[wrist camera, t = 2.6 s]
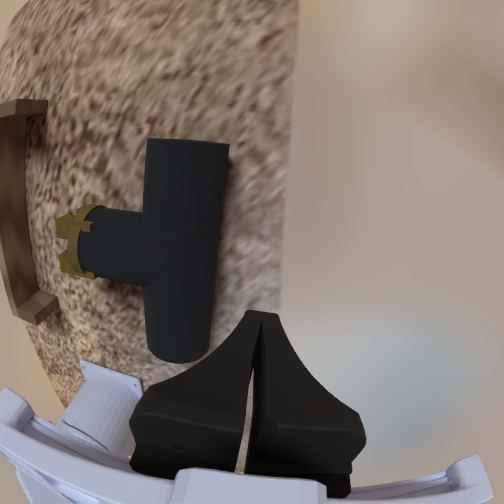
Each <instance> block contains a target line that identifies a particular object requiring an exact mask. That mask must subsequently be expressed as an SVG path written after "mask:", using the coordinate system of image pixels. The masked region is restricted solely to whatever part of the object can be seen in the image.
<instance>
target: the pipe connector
mask: <svg viewBox="0 0 504 504" xmlns="http://www.w3.org/2000/svg"><path fill="white" fill-rule="evenodd" d="M229 146H230V144H225V143H217V142H207V141H195V140H182V139H161V138H148V139H147V149H146V161H145V174H144V192H143V213H141V212H133V211H125V210H118V209H111V208H106V207H104V206H101V205H92V204H89V205H86V206H84V207H81V208H79V209H77V210H76V211H77V214H76V215H68V214H66V215H64V216H62V217H59V218H57V219H55V221H56V233H57V238H62V239H67V240H68V243H67V250H66V251H64V252H63V253H61V254H60V255H59V260H60V267H61V272H65V273H69V274H73V275H77V276H80V277H84V278H89V279H93V280H95V279H96V278H97V277H101V278H106V279H110V280H114V281H119V282H124V283H128V284H133V285H138V286H142V287H143V293H144V310H145V324H146V336H147V345H148V348H149V350H150V351H151V353H152V354H153V355H154V356H156V357H157V358H159V359H161V360H163V361H166V362H169V363H176V364H183V363H189V362H193V361H196V360H198V359H200V358H201V357H202V356H204V355H205V353H206V352H207V350H208V348H209V340H210V326H211V314H212V301H213V290H214V279H215V268H216V258H217V248H218V238H219V229H220V220H221V211H222V202H223V193H224V185H225V177H226V169H227V161H228V154H229Z"/></svg>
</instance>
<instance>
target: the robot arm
mask: <svg viewBox="0 0 504 504" xmlns="http://www.w3.org/2000/svg"><path fill="white" fill-rule="evenodd" d="M80 365H81V368H82V371H83V374H84V376H85V379H86V381H85V382H84V383H83V385H82V386H81V388H80V389H79V391H78V392H77V394H76V395H75V397H74V398H73V399H72V401H71V402H70V404H69V405H68V407H67V408H66V410H65V411H64V413H63V415H62V416H61V417H60V419H59V421H58V422H57V423H56V424H55V425H54V424H53V423H52V422H51V421H46V420H45V419H43V418H41V417H40V416H38V415H36V414H35V413H34V411H33V409H32V408H31V406H30V405H29V404H28V402H27V401H26V400H25V399H24V398H22V397H21V396H19V395H18V394H16V393H15V392H13V391H12V390H10V389H9V388H5V389H4V390H3V391H2V393H1V394H0V453H1V454H2V455H3V456H4V457H5V458H6V459H7V460H8V461H10V462H11V463H12V464H14V465H15V466H16V470H17V471H16V476H17V478H18V480H19V482H20V484H21V486H22V488H23V490H24V492H25V494H26V496H27V498H28V500H29V502H28V504H484V503H486V502H487V501H488V500H490V499H491V498H493V496H494V495H493V492H492V489H491V486H490V483H489V480H488V477H487V475H486V472H485V469H484V467H483V464H482V461H481V459H480V456H479V454H475V455H472V456H469V457H465V458H463V459H460V460H458V461H456V462H455V463H453V464H452V465H451V466H450V467H449V468H448V469H447V470H446V471H443V472H439V473H435V474H431V475H427V476H423V477H419V478H414V479H410V480H405V481H399V482H394V483H387V484H381V485H373V486H365V487H355V488H351V485H350V476H349V474H351V473H352V463H351V462H352V461H353V460H354V459H355V458H356V457H357V455H358V454H359V453H360V452H361V451H362V450H363V448H364V446H365V444H366V435H365V430H364V427H363V424H362V421H361V419H360V416H359V414H358V413H357V412H355V411H354V410H353V409H351V408H349V407H348V406H347V405H345V404H343V403H342V402H341V401H339V400H338V399H337V398H336V397H334V396H333V395H332V394H331V393H329V392H328V391H327V390H326V389H325V388H324V387H323V386H322V385H321V384H320V383H319V382H318V381H317V380H316V379H315V378H314V377H313V376H312V375H311V373H310V372H309V371H308V370H307V368H306V367H305V366H304V364H303V363H302V362H301V360H300V359H299V357H298V355H297V354H296V352H295V351H294V349H293V347H292V345H291V344H290V342H289V340H288V338H287V336H286V334H285V331H284V329H283V327H282V324H281V322H280V319H279V316H278V315H277V314H275V313H268V312H261V311H255V310H247V311H246V312H245V314H244V316H243V318H242V319H241V321H240V322H239V324H238V325H237V327H236V328H235V329H234V330H233V332H232V333H231V334H230V335H229V336H228V337H227V338H226V339H225V340H224V342H223V343H222V344H221V345H220V346H219V347H218V348H216V349H215V350H214V351H213V352H212V353H211V354H209V355H208V356H207V357H206V358H204V359H203V360H201V361H200V362H199V363H197V364H196V365H194V366H193V367H191V368H189V369H188V370H186V371H184V372H182V373H180V374H178V375H176V376H174V377H172V378H170V379H168V380H165V381H162V382H160V383H157V384H154V385H151V386H149V388H148V389H147V390H146V391H145V393H144V394H143V390H142V385H141V381H140V380H139V379H138V378H135V377H132V376H129V375H125V374H122V373H119V372H116V371H113V370H110V369H107V368H104V367H101V366H99V365H96V364H93V363H90V362H88V361H85V360H81V361H80ZM253 367H254V373H253V412H252V421H251V428H250V436H249V443H248V449H247V456H246V463H245V469H244V474H240V473H234V471H235V467H236V463H237V458H238V454H239V449H240V445H241V440H242V435H243V430H244V423H245V416H246V406H247V397H248V388H249V383H250V379H251V375H252V371H253ZM134 442H135V443H136V445H137V446H136V448H135V450H134V453H133V455H132V457H131V459H129V458H128V456H129V454H130V451H131V449H132V447H133V444H134Z"/></svg>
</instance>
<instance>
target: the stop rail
mask: <svg viewBox="0 0 504 504" xmlns="http://www.w3.org/2000/svg"><path fill="white" fill-rule="evenodd" d="M47 105H48V100H34V99H15V100H12V101H9V102H6V103H3V104H0V269H1V273H2V277H3V281H4V285H5V289H6V293H7V296H8V300H9V303H10V307H11V310H12V313H13V315H15V316H17V317H19V318H21V319H23V320H25V321H27V322H30V323H32V324H34V325H36V326H38V325H39V324H40V323H41V322H42V321H43V320H44V319H45V318H47V317H48V316H49V315H50V314H51V313H52V312H53V311H54V310H55V309H56V308H58V307H59V303H58V299H57V296H54V295H51V294H48V293H46V292H43V291H40V290H39V289H38V285H37V280H36V275H35V270H34V264H33V259H32V252H31V246H30V238H29V230H28V221H27V210H26V195H25V140H26V125H27V117H29V116H34V115H39V114H45V113H47Z"/></svg>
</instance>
